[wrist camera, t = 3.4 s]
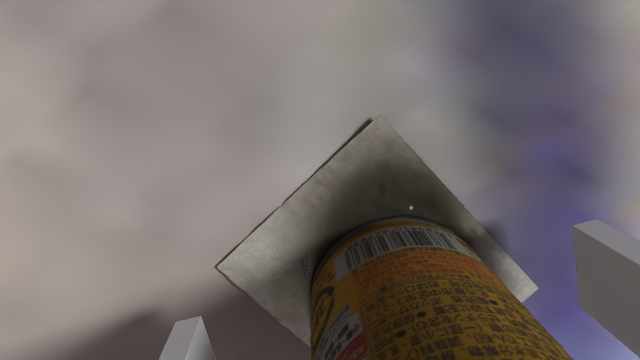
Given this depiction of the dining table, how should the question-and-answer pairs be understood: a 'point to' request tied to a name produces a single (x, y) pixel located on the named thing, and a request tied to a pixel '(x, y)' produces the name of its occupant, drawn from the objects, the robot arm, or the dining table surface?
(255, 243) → the condiment
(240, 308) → the dining table surface
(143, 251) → the dining table surface
